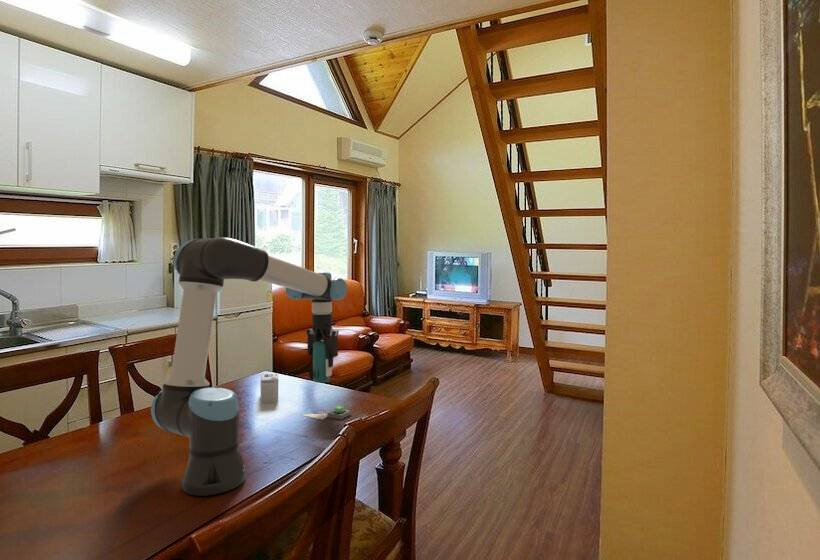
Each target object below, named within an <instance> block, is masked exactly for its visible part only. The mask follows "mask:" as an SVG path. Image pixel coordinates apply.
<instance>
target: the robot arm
mask: <svg viewBox="0 0 820 560" xmlns="http://www.w3.org/2000/svg"><path fill="white" fill-rule="evenodd" d="M173 266H174V269H175V270H176V271H177V272H176V273H177V274H178V275H179V276H178V285H179V286H180V287H181V288H182V290H183V291H182V293H183V294H182V298H181V306H180V312H179V319H178V323H177V324H178V325H177V331H176V339H175V343H174V344H175V345H174V351H173V359H172V365H171V372H170V373H171V374H170V375H169V377H168V378H167V379H165V380H164V381H163V385H162V388H161V390H160V391H159V392H158V394H157V395H155V396H154V397H153V400H152V402H151V407H150V413H151V414H150V415H151V418H152V420H153V422H154V424H155V425H156V426H158V427H159V428H161V429H163V431H166V432H168V433H172V434H176V435H181V436H183V437H187V438H189V457H188V461H187V464H186V468H185V472H184V475H183V476H182V478H181V479H182V481H181V482H182V483H181V484H182V485H181V486H182V487H181V488H182V491H183V492H185V493H186V494H188V495H192V496H212V495H213V496H214V495H218V494H222V493H225V492H226V493H227V492H229V491H231V490H234V489H236V488H238V487H240V486H241V485H242V484H243V483H244V482H245V480H246V479H247V471H246V470H247V468H246V465H245V463H244V460H243V458H242V455H241V452H240V449H239V448H240V447H239V423H240V422H239V414H240V412H239V411H240V406H239V399H238V395H237V393H236V392H234V391H233V390H230V389H227V388H223V387H210V385H211V384H210V382H209V380H207V379H206V370H207V361H208V356H209V349H210V344H211V343H210V342H211V334H212V330H213V329H212V326H213V321H214V313H215V306H216V299H217V298H216V297H217V293H219V292H220V291H221V290H222V289H224V282H225V280H245V281H250V282H253V283H254V282H258V281H262V282H265V283H269V284H273V285H275V286H279V287H282V288H285V294H286V296H287V298H289V300H290V299H291V300H297V301H298V300H299V301H300V300H311V313H313V314H311V324H312V327H311V328H308V329H306V331H305V332H306V335H307V355H308V356H310V357H311V364H312V366H313V343H314V342H315V341H321V340H323V341H324V344H325V349H326V353H327V358H326V376H330V377H331V376H332V375H333V369H332V368H333V367H334V358H336V357H338V356H339V351H338V350H339V349H338V347H339V344H338V343H339V341H338V336H339V333H340V332H339V330H335V329H333V326H332V323H333V313H332V312H333V301H340V300H343V299H344V298H345V297H346V296H347V292H348V284H347V282H346V281H345V280H344V278H341V277H337V276H336V277H332V273H330V272H315V271H312V270H311V269H310V270H309V269H308V268H304V267H301V266H299V265H296V264H294V263H290V262H289V261H285V260H284V259H283V260H282V259H279V258H277V257H273V256H271V255H269V253H268V252H267V251H266V250H265V249H262V248H259V247H257V246H255V245H251V244H249V243H247V242H243V241H241V240H238V239H234V238H231V237H224V236H223V237H215V238H214V237H212V238H210V237H209V238H195V239H191V240H188V241H186V242H184V243H182V244H181V245H180V246H179V247H178V249H176V252H175V253H174V257H173ZM317 333H321V334H322V338H316V334H317Z"/></svg>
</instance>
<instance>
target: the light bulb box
mask: <svg viewBox="0 0 820 560" xmlns="http://www.w3.org/2000/svg"><path fill="white" fill-rule="evenodd" d="M278 402H279V375H278V373H267V374H263V373H262V374H261V375H260V404H271V403H272V404H276V403H278Z"/></svg>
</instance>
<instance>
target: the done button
mask: <svg viewBox="0 0 820 560" xmlns="http://www.w3.org/2000/svg"><path fill="white" fill-rule="evenodd" d="M333 410H334V412H335V413H343V412H344V410H345V407H344V406H342V405H341V406H339V405H338V406H335V407H333Z"/></svg>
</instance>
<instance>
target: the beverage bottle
mask: <svg viewBox="0 0 820 560" xmlns="http://www.w3.org/2000/svg"><path fill="white" fill-rule="evenodd" d="M316 338H322V334H321V333H317V334H316ZM326 358H327V353H326V349H325V344H324V341H323V339H321V341H315V342H314V343H313V365H312V381H313V382H314V383H318V384H319V383H320V384H321V383H328V382H330V380H331V375H330V376H326Z"/></svg>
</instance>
